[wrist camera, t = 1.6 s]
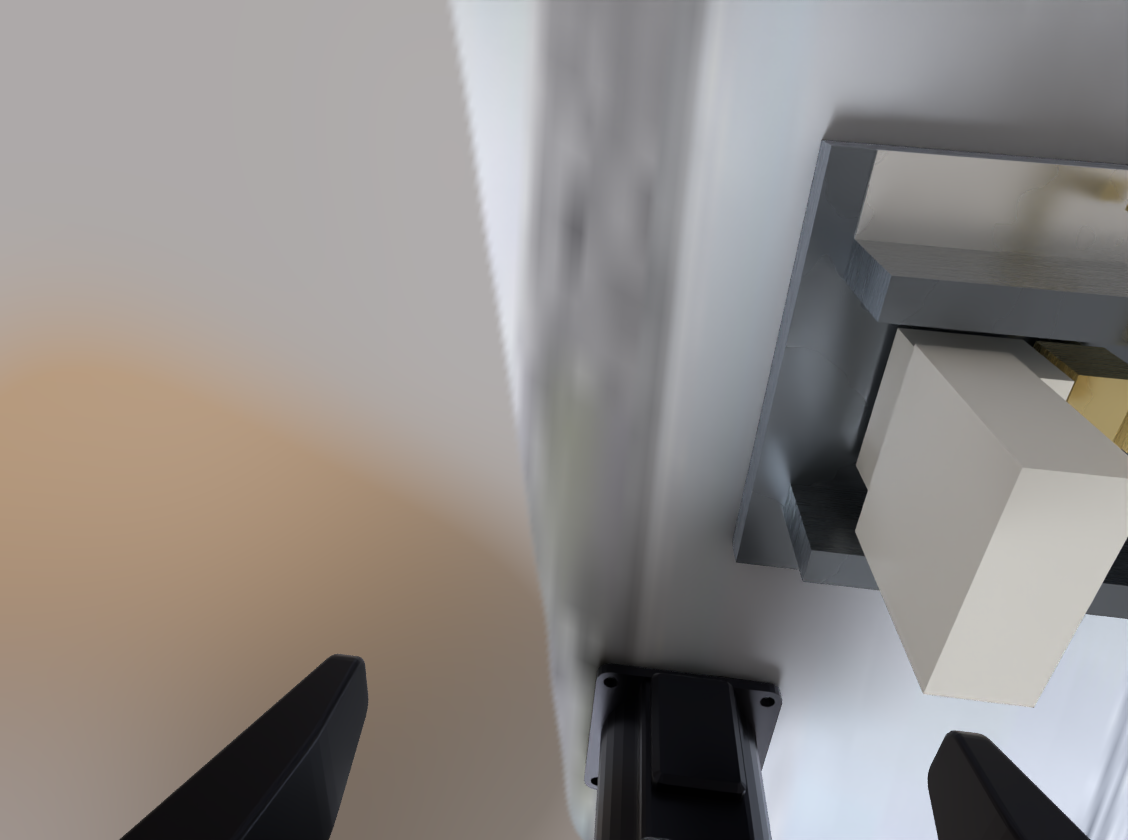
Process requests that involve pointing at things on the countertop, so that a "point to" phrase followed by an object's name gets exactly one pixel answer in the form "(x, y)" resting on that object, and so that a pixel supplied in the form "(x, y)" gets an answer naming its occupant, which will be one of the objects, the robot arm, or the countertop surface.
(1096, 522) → the off-white rectangular block
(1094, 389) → the tan block
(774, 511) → the bench
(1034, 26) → the countertop surface
